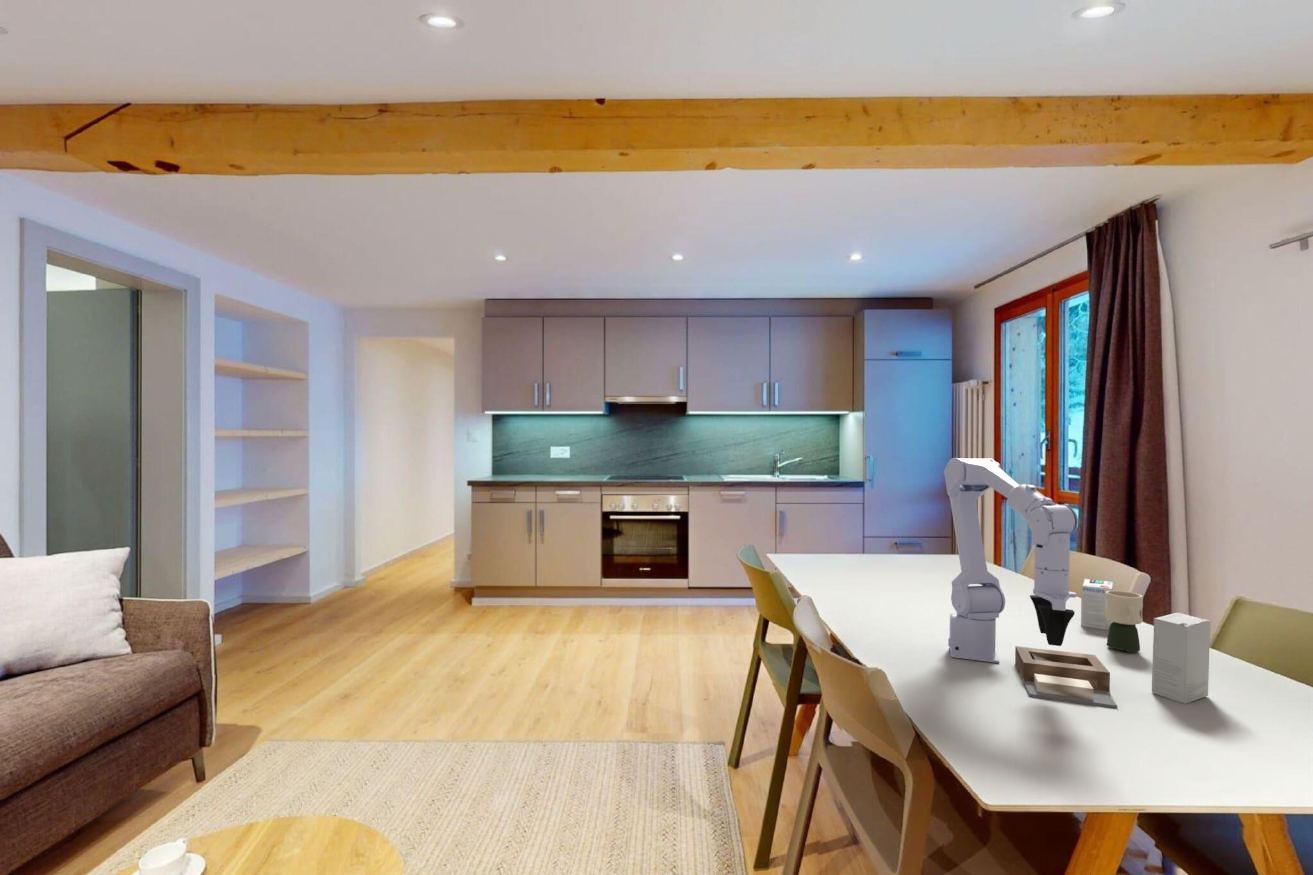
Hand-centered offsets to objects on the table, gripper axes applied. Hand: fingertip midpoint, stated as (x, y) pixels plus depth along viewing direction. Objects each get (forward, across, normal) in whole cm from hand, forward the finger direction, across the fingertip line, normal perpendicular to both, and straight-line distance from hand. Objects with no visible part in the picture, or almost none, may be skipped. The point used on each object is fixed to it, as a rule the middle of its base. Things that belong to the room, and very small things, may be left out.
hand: (1050, 639), depth 126 cm
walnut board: (+10, +10, -4) cm, 15 cm away
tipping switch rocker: (+8, +10, -3) cm, 14 cm away
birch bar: (+10, 0, -2) cm, 10 cm away
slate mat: (+10, 0, -3) cm, 11 cm away
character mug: (+10, +36, -21) cm, 43 cm away
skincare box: (+10, +8, -23) cm, 27 cm away
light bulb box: (+11, +59, -21) cm, 64 cm away
